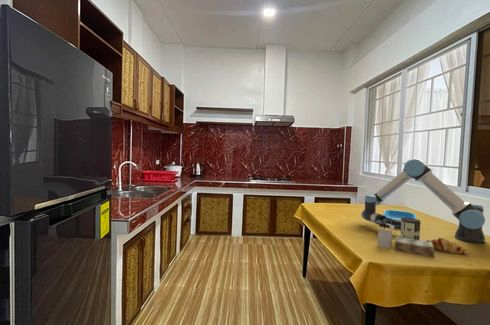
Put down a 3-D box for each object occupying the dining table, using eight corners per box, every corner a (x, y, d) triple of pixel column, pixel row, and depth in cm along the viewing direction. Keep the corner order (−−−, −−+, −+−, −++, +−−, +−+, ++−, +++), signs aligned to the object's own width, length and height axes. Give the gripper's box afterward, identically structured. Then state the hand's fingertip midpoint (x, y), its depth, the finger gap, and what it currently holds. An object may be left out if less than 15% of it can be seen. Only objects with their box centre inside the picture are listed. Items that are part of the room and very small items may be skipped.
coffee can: (415, 240, 169) (416, 218, 168) (422, 245, 158) (423, 222, 158) (397, 238, 171) (398, 217, 170) (403, 244, 161) (404, 221, 160)
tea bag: (390, 248, 152) (391, 231, 152) (377, 245, 156) (378, 229, 156) (391, 247, 155) (392, 230, 155) (378, 244, 159) (379, 227, 159)
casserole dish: (416, 231, 189) (417, 221, 189) (381, 226, 201) (381, 216, 200) (415, 220, 221) (415, 212, 220) (384, 216, 232) (385, 208, 232)
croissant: (468, 260, 147) (469, 245, 150) (469, 256, 140) (470, 241, 143) (422, 249, 161) (424, 236, 164) (421, 245, 154) (423, 232, 156)
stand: (431, 250, 150) (432, 241, 150) (433, 257, 141) (434, 247, 141) (395, 244, 159) (395, 235, 159) (394, 250, 150) (395, 241, 150)
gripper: (393, 223, 193) (418, 232, 172) (363, 225, 187) (386, 234, 166) (394, 213, 192) (419, 221, 172) (364, 214, 187) (386, 222, 166)
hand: (403, 227), depth 169 cm, fingers open, 13 cm apart
